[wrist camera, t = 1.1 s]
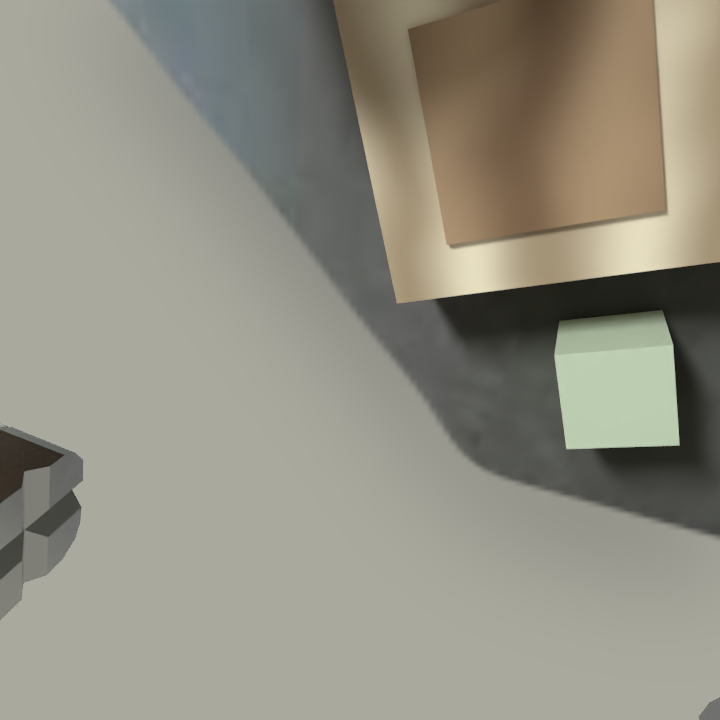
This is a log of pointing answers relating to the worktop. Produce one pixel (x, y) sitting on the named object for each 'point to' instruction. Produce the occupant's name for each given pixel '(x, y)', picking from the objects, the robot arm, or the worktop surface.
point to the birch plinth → (537, 137)
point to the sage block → (617, 381)
